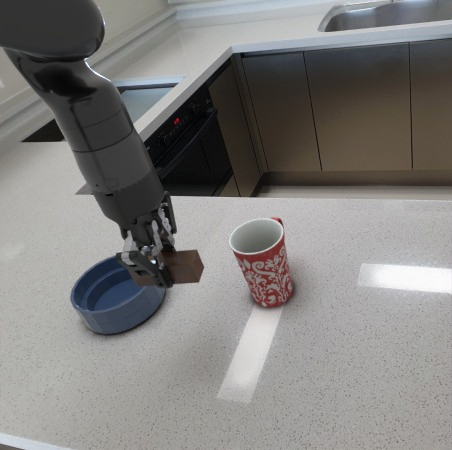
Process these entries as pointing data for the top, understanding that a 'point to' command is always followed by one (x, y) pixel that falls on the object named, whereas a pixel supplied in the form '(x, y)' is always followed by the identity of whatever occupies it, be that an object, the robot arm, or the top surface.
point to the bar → (177, 268)
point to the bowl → (113, 298)
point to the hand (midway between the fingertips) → (170, 276)
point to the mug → (263, 260)
